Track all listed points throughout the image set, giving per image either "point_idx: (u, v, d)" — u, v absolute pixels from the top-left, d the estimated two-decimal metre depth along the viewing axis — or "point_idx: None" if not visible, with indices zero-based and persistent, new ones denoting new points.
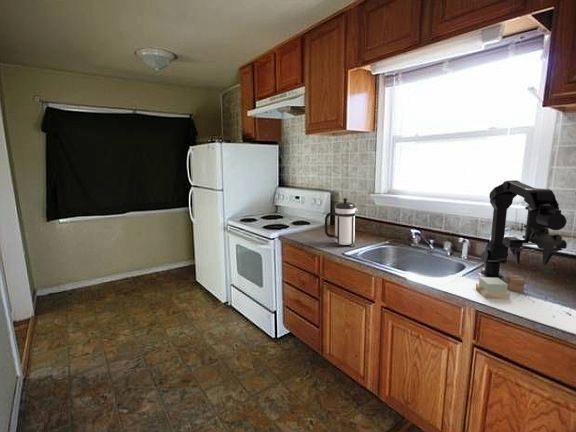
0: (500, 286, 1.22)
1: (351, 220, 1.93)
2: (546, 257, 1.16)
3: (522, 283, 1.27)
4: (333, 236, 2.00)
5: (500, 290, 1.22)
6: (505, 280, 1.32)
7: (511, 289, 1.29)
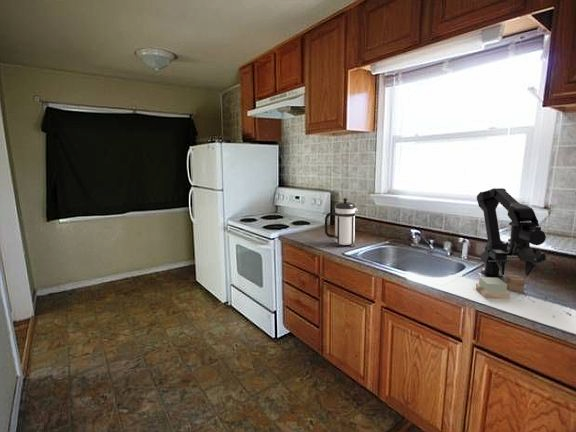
0: (499, 286, 1.22)
1: (351, 220, 1.93)
2: (528, 268, 1.28)
3: (522, 283, 1.27)
4: (333, 236, 2.00)
5: (500, 290, 1.22)
6: (505, 280, 1.32)
7: (511, 289, 1.29)
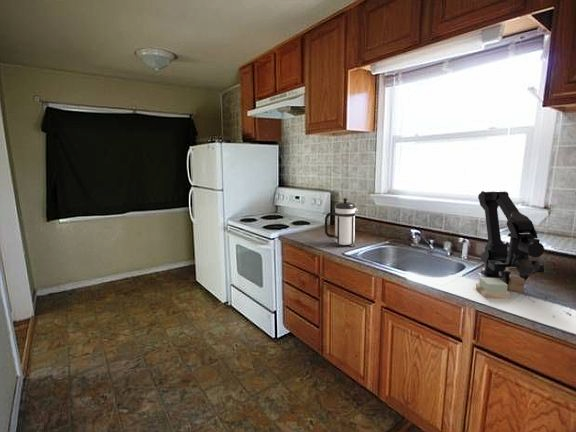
0: (500, 287, 1.22)
1: (351, 220, 1.93)
2: None
3: (522, 282, 1.27)
4: (333, 236, 2.00)
5: (500, 291, 1.22)
6: None
7: (511, 289, 1.28)
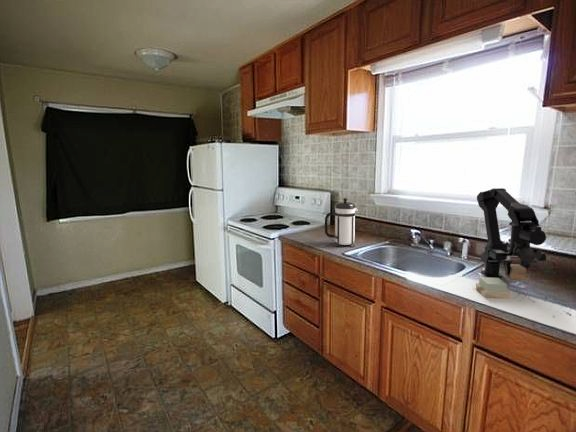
0: (499, 286, 1.22)
1: (351, 220, 1.93)
2: None
3: (524, 271, 1.27)
4: (333, 236, 2.00)
5: (500, 290, 1.22)
6: None
7: (512, 278, 1.28)
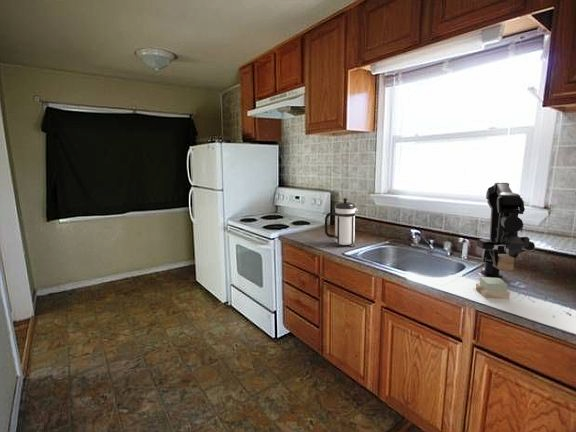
0: (499, 286, 1.22)
1: (351, 220, 1.93)
2: None
3: (512, 261, 1.22)
4: (333, 236, 2.00)
5: (500, 290, 1.22)
6: None
7: (500, 268, 1.23)
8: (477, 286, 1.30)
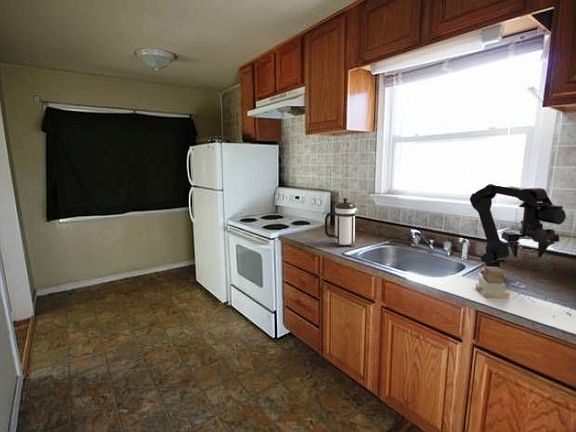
0: (497, 286, 1.23)
1: (351, 220, 1.93)
2: (541, 250, 1.28)
3: (501, 274, 1.22)
4: (333, 236, 2.00)
5: (497, 290, 1.23)
6: (484, 272, 1.27)
7: (490, 281, 1.23)
8: (477, 286, 1.30)
